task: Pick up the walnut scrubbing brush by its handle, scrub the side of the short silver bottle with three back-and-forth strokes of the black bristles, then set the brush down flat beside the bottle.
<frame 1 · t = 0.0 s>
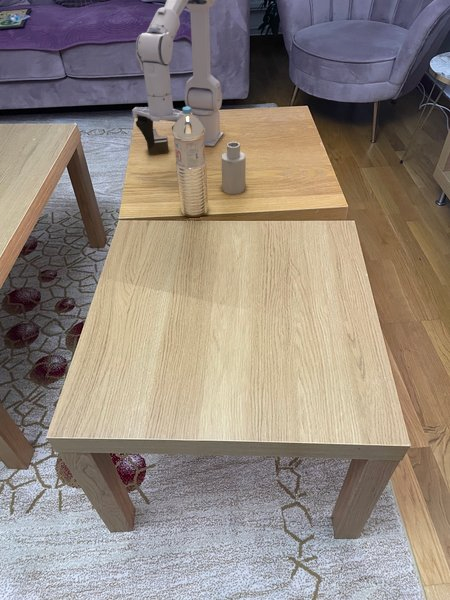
hand: (165, 148, 113), 10 cm above the table, tool pointing down, fingers open, 7 cm apart
silver bottle: (233, 188, 118), on the table
water bottle: (194, 211, 111), on the table
brush: (154, 140, 139), on the table
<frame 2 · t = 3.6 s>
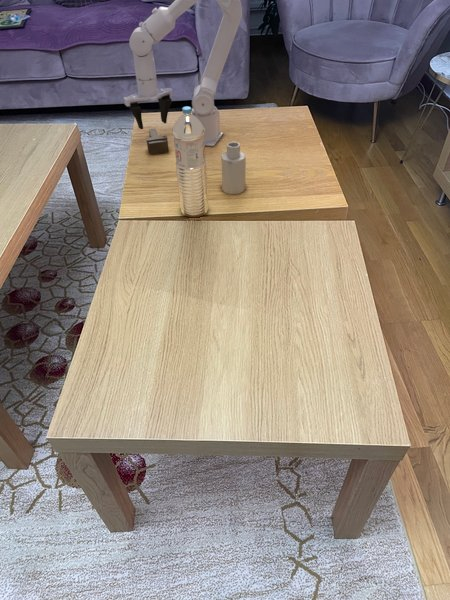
hand: (152, 125, 135), 5 cm above the table, tool pointing down, fingers open, 7 cm apart
nothing on the table moved.
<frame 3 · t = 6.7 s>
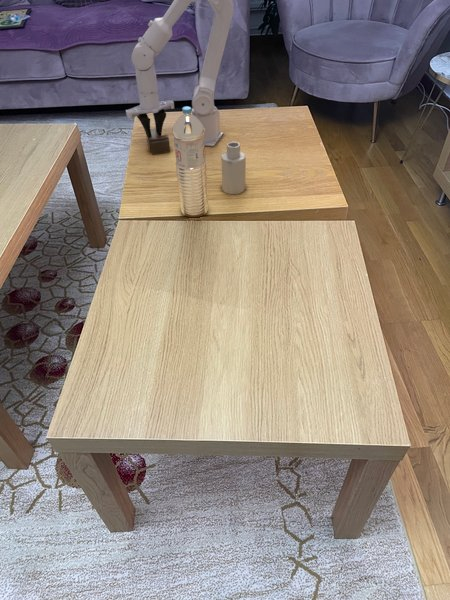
hand: (154, 136, 138), 1 cm above the table, tool pointing down, fingers closed on brush, 3 cm apart
brush: (154, 140, 139), on the table, touching gripper
everything else where it was.
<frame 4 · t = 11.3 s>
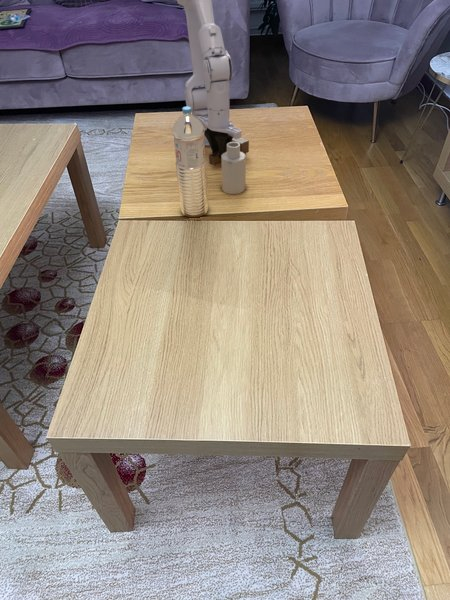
hand: (219, 156, 126), 2 cm above the table, tool pointing down, fingers closed on brush, 2 cm apart
brush: (219, 161, 127), point 1 cm above the table, touching gripper
everything else where it was.
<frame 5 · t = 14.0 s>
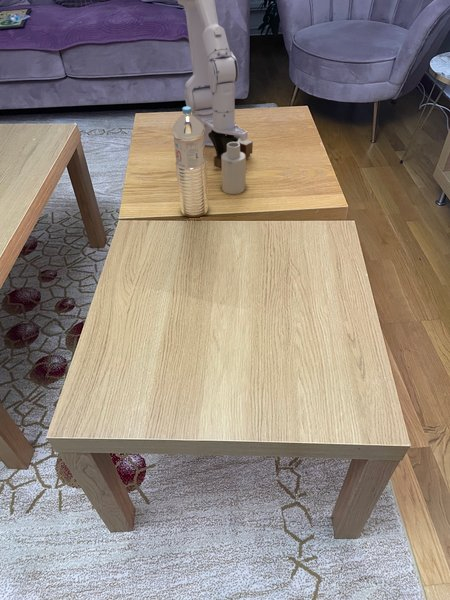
hand: (224, 158, 125), 2 cm above the table, tool pointing down, fingers closed on brush, 2 cm apart
brush: (224, 163, 126), point 1 cm above the table, touching gripper
everything else where it was.
when the fingers open (1 cm above the table, at t = 15.7 s): brush stays where it is, on the table.
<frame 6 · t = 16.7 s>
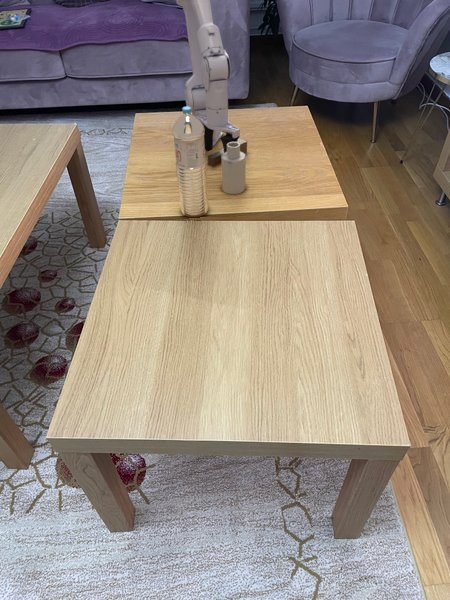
hand: (218, 154, 127), 2 cm above the table, tool pointing down, fingers open, 7 cm apart
brush: (218, 162, 128), on the table
everything else where it was.
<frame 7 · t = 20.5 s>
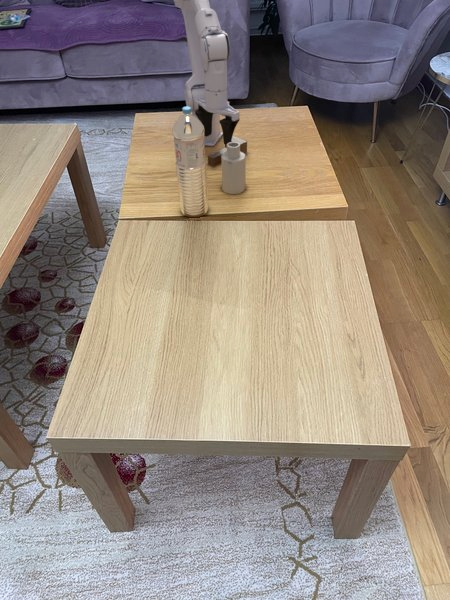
hand: (217, 139, 124), 7 cm above the table, tool pointing down, fingers open, 7 cm apart
nothing on the table moved.
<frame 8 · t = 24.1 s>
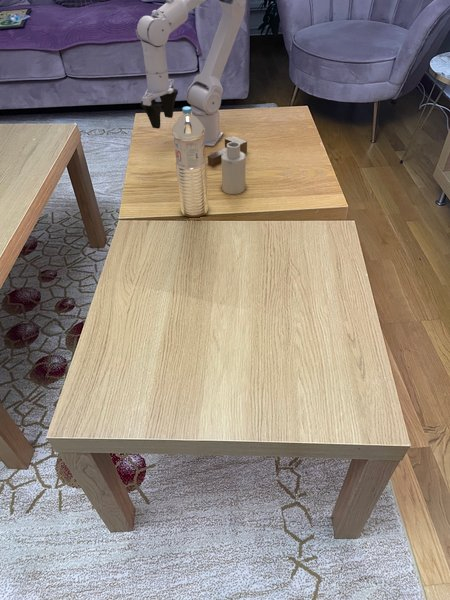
hand: (162, 122, 126), 9 cm above the table, tool pointing down, fingers open, 7 cm apart
nothing on the table moved.
at the end: the gripper is holding nothing; brush 15.2 cm from the silver bottle (horizontally); brush tilted 0° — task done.
